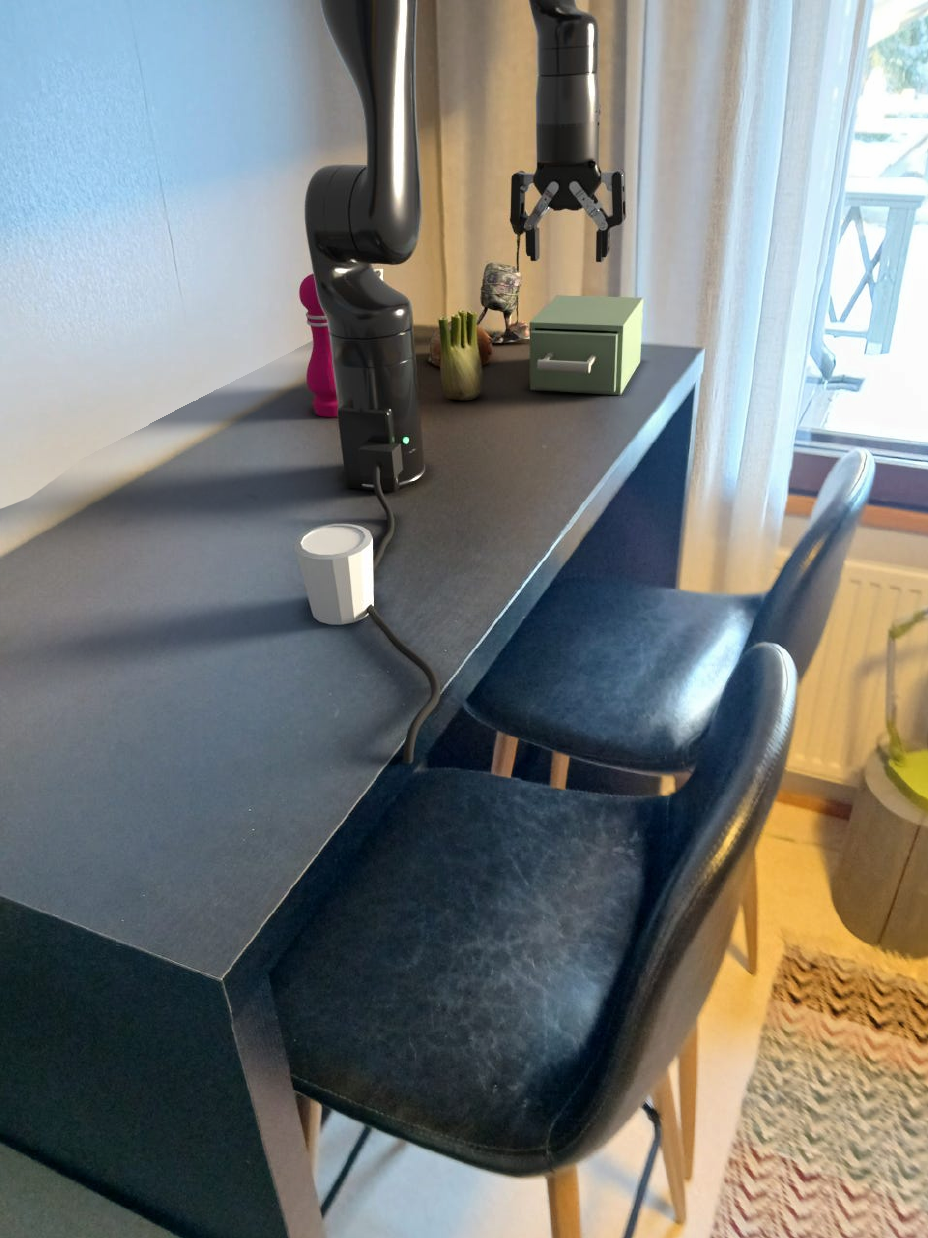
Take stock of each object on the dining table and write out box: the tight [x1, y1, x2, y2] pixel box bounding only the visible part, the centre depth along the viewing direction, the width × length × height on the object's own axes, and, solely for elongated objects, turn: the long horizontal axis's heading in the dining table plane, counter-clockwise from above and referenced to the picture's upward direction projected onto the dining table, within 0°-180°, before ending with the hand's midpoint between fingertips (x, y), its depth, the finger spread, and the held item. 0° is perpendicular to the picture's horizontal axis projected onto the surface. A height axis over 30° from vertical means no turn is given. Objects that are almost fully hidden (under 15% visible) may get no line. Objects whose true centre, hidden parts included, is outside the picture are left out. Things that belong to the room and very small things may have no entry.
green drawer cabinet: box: [528, 294, 644, 396], centre depth 136 cm, size 16×13×10 cm
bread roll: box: [428, 320, 494, 368], centre depth 147 cm, size 10×10×8 cm
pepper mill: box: [298, 267, 338, 418], centre depth 126 cm, size 7×7×20 cm
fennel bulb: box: [437, 310, 483, 401], centre depth 129 cm, size 6×5×12 cm
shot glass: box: [293, 523, 375, 626], centre depth 83 cm, size 7×7×7 cm
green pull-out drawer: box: [529, 328, 618, 393], centre depth 132 cm, size 20×12×8 cm, turn 161°
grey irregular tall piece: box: [477, 209, 530, 344], centre depth 152 cm, size 8×11×20 cm
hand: (567, 260), depth 120 cm, fingers open, 8 cm apart
